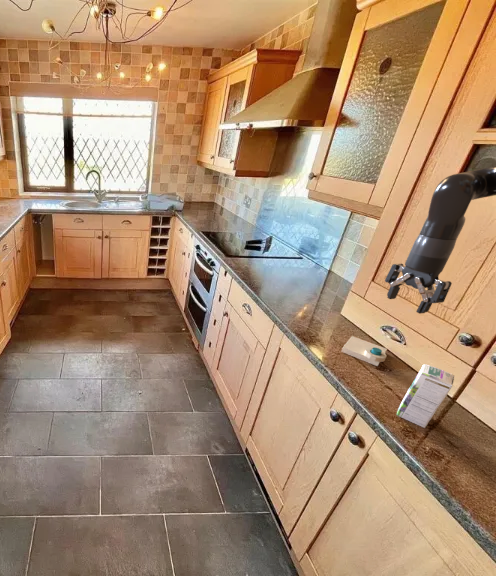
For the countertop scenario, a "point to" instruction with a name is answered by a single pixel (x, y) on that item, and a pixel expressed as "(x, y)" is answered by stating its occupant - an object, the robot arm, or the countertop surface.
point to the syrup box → (425, 395)
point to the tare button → (376, 351)
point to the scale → (364, 350)
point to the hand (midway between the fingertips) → (405, 305)
